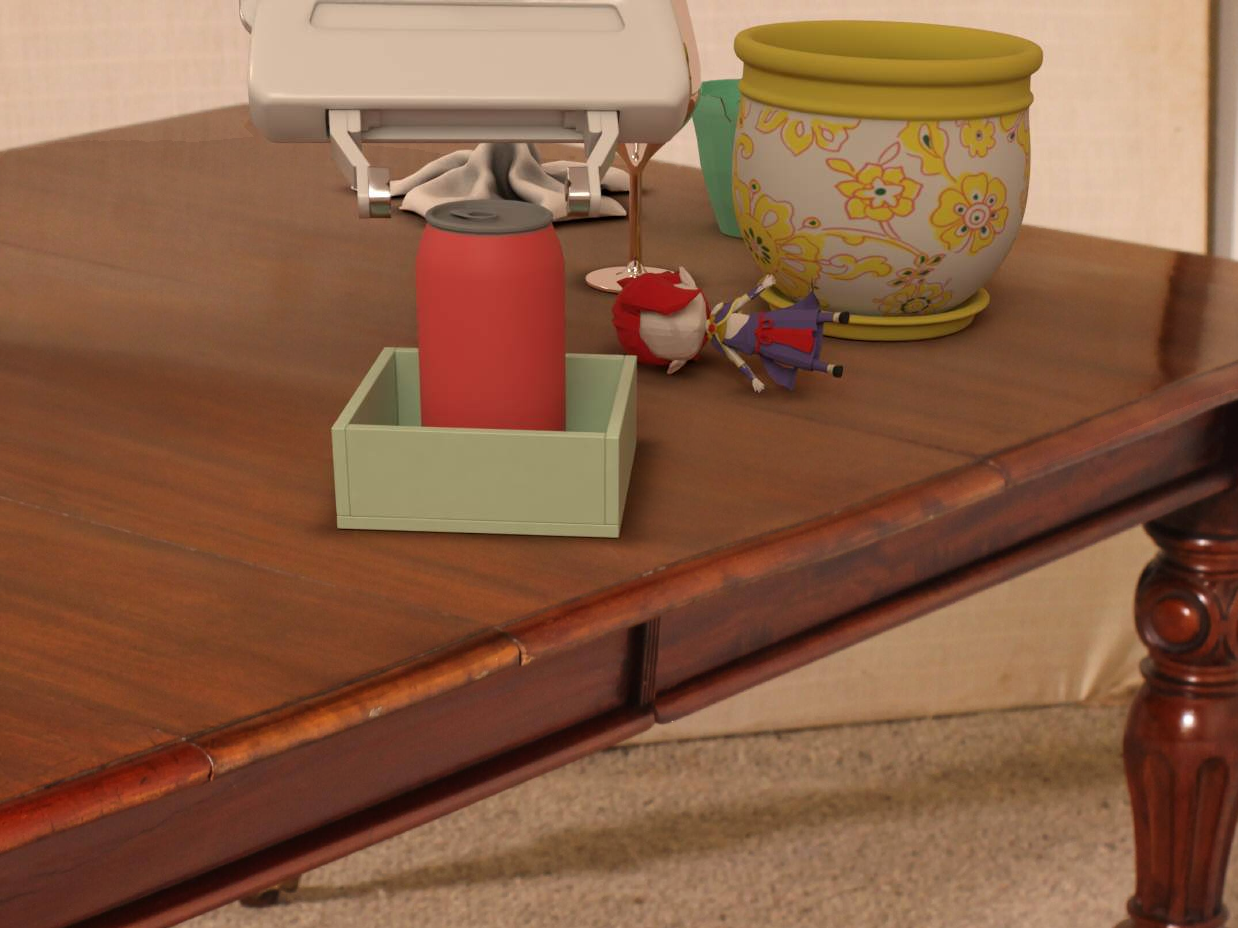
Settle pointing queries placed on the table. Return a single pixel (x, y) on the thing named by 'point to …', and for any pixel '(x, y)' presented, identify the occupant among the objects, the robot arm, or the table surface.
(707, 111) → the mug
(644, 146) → the wineglass
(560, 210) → the cloth
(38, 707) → the table surface
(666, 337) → the figurine
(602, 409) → the tub
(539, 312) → the beer can
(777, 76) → the flowerpot
